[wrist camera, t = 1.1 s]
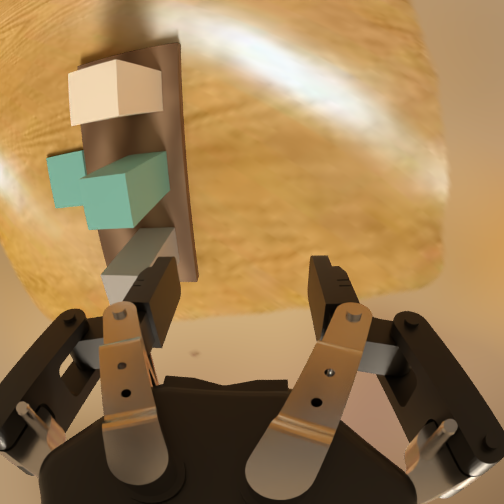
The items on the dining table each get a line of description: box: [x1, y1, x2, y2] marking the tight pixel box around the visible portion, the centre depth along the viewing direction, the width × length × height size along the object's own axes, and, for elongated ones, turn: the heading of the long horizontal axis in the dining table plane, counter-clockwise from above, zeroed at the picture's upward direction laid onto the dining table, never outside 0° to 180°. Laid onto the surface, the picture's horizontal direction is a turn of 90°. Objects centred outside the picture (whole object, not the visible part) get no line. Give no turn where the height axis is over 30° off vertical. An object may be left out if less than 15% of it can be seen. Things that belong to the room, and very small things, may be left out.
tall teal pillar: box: [79, 151, 170, 230], centre depth 30 cm, size 5×5×12 cm
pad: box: [46, 150, 87, 208], centre depth 37 cm, size 7×8×1 cm
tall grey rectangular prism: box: [101, 227, 180, 305], centre depth 34 cm, size 5×5×12 cm
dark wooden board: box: [78, 43, 199, 282], centre depth 36 cm, size 14×32×2 cm, turn 2°
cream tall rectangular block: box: [68, 59, 163, 126], centre depth 25 cm, size 5×5×12 cm
